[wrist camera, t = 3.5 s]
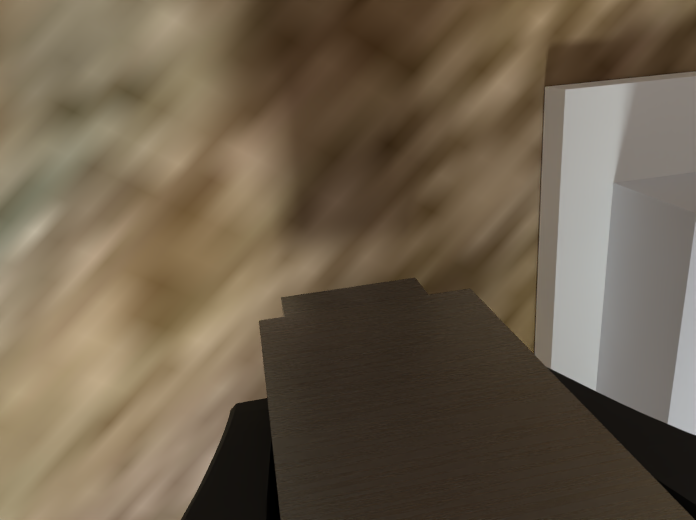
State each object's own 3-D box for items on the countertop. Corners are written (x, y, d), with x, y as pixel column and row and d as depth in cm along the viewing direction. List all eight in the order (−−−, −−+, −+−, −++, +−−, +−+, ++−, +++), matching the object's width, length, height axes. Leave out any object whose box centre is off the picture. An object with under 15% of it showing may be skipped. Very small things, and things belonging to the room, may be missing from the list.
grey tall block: (439, 406, 15) (657, 781, 7) (277, 435, 14) (331, 876, 7) (435, 253, 13) (702, 527, 6) (254, 279, 13) (291, 621, 5)
